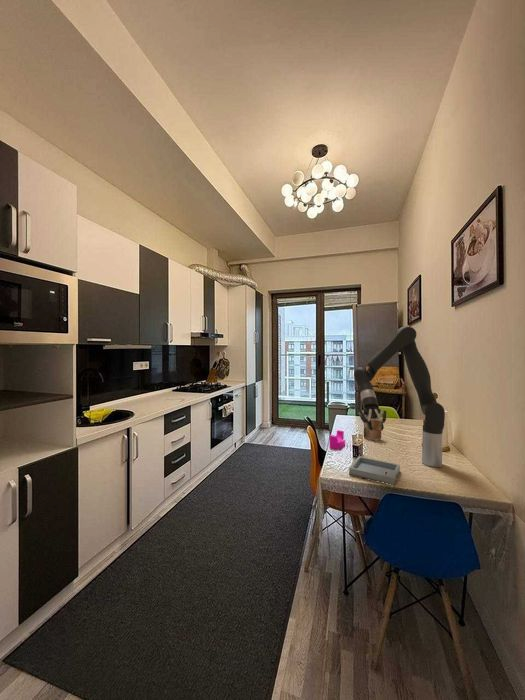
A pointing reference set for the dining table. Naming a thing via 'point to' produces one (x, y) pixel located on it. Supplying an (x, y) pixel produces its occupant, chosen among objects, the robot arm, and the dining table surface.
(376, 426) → the walnut block
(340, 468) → the dining table surface
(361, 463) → the tray
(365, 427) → the coffee box
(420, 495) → the dining table surface
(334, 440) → the toy block
